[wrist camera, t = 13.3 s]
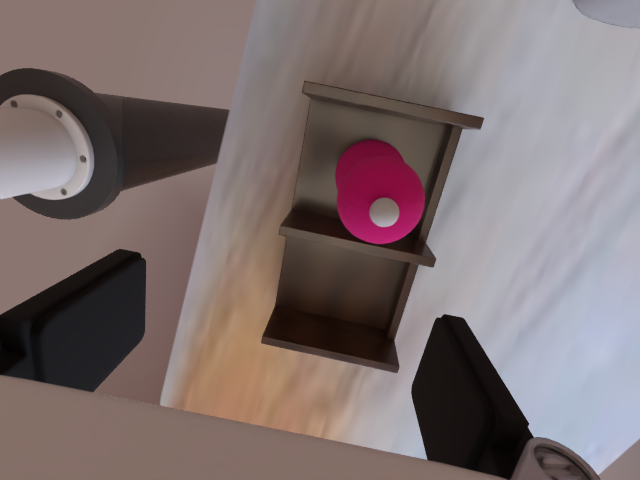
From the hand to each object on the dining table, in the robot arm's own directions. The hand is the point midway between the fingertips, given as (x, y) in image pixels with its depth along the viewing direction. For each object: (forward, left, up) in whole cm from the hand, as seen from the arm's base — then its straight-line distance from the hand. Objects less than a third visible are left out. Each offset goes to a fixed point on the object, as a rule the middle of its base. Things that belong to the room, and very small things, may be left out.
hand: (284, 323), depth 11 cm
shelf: (+4, -5, -33) cm, 34 cm away
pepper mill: (+4, +2, -30) cm, 30 cm away
